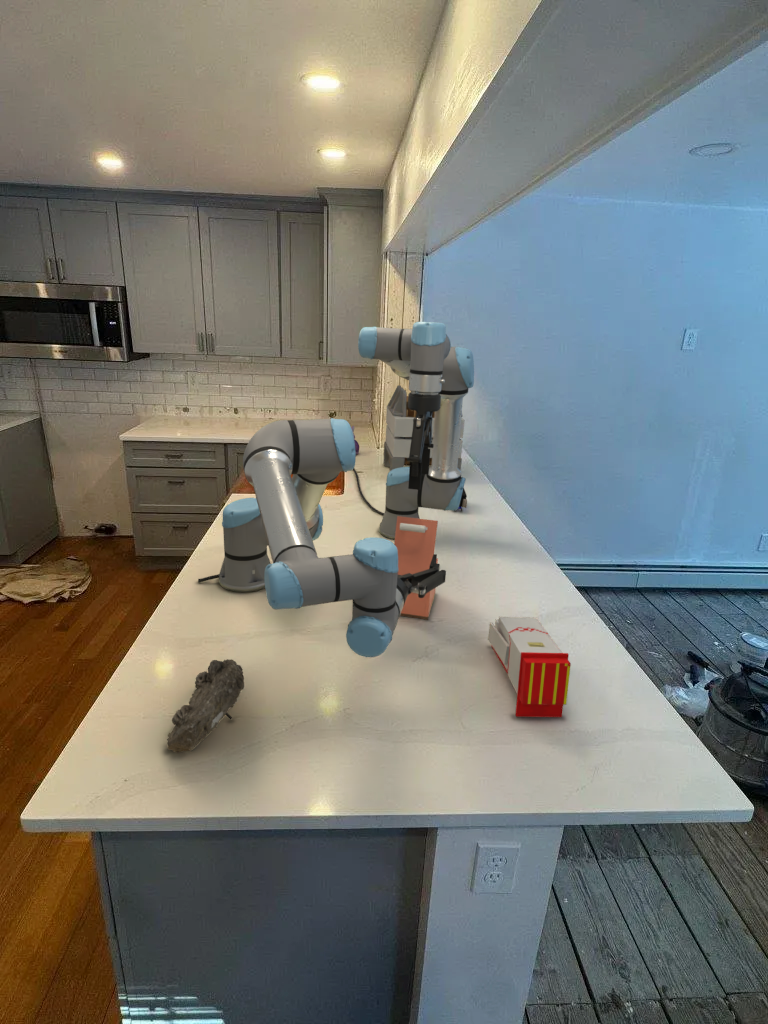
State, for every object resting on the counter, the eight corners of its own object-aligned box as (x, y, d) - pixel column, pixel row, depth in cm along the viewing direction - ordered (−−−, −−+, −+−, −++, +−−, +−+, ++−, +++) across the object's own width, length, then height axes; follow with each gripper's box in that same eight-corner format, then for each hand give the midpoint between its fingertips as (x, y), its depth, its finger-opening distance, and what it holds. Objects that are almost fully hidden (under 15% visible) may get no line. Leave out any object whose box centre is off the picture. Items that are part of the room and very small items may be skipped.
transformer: (382, 463, 289) (386, 382, 275) (445, 464, 293) (451, 384, 279) (390, 482, 257) (394, 392, 243) (460, 483, 261) (468, 394, 247)
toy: (534, 602, 136) (579, 659, 107) (529, 653, 139) (572, 723, 110) (484, 601, 136) (516, 658, 107) (480, 652, 139) (510, 722, 109)
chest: (399, 589, 160) (401, 553, 157) (435, 594, 158) (438, 558, 155) (388, 614, 147) (391, 575, 144) (427, 619, 145) (431, 580, 142)
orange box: (397, 516, 144) (392, 516, 135) (437, 520, 142) (434, 521, 133) (391, 573, 144) (385, 576, 136) (431, 578, 142) (427, 582, 134)
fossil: (192, 660, 117) (244, 628, 112) (224, 691, 120) (276, 661, 115) (142, 746, 98) (202, 712, 93) (182, 779, 101) (242, 748, 96)
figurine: (347, 456, 298) (347, 428, 293) (339, 452, 307) (339, 424, 302) (363, 455, 303) (364, 427, 298) (355, 450, 311) (356, 423, 306)
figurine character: (467, 516, 223) (461, 500, 237) (469, 499, 220) (463, 483, 233) (450, 516, 223) (446, 499, 236) (452, 498, 220) (447, 483, 233)
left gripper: (322, 607, 112) (351, 563, 132) (448, 626, 108) (458, 578, 127) (323, 573, 110) (352, 533, 129) (451, 591, 105) (461, 547, 125)
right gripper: (433, 401, 118) (426, 497, 125) (447, 387, 141) (440, 469, 148) (398, 398, 120) (393, 494, 127) (417, 385, 143) (412, 466, 150)
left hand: (405, 555), depth 128 cm, fingers open, 13 cm apart
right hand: (418, 481), depth 138 cm, fingers open, 13 cm apart
